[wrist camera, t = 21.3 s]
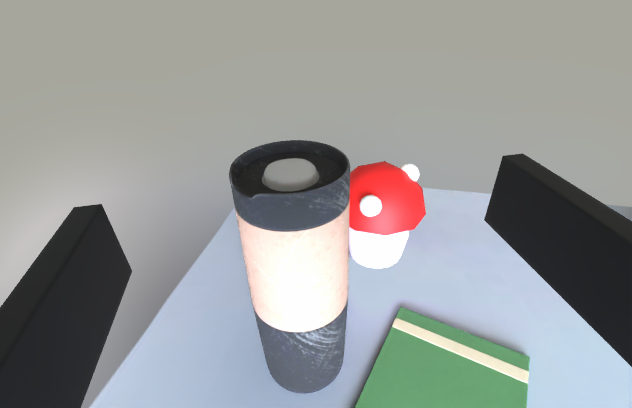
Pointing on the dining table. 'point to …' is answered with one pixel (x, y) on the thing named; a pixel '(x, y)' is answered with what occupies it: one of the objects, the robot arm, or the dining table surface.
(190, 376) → the dining table surface
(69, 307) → the robot arm
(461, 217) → the dining table surface
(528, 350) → the dining table surface
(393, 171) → the mushroom
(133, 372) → the dining table surface
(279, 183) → the travel mug
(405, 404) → the cloth
